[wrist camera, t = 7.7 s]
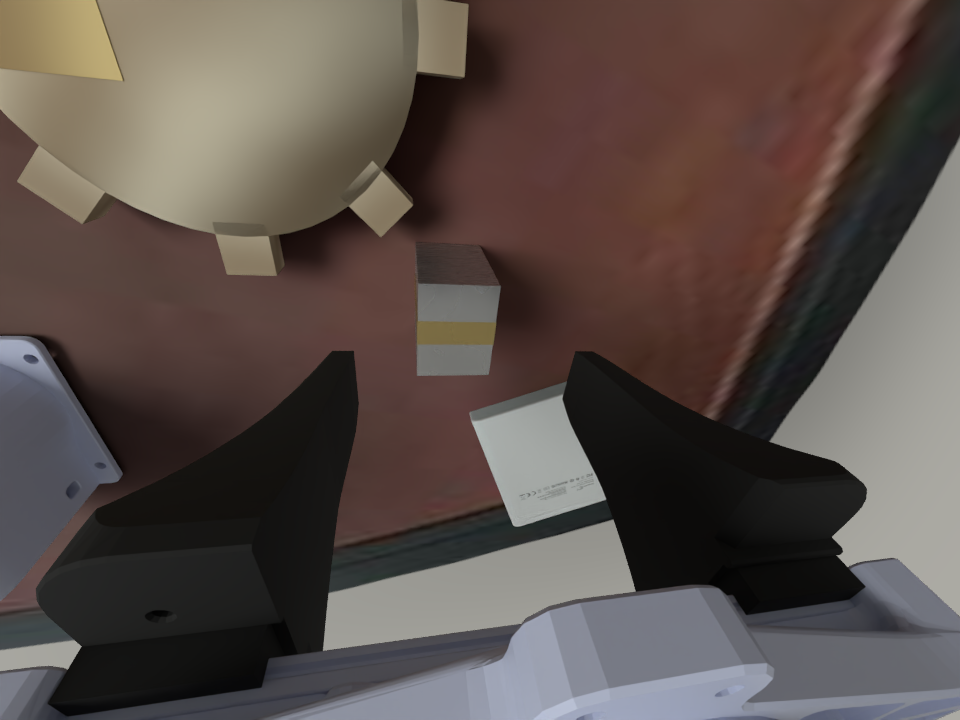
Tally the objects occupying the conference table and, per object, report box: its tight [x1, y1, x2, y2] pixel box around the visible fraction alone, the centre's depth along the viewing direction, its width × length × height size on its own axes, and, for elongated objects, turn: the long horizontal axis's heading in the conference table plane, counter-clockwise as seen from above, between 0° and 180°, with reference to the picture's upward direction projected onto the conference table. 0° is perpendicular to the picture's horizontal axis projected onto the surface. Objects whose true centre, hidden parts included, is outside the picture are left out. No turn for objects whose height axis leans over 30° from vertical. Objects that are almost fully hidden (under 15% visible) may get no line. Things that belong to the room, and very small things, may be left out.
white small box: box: [415, 242, 501, 376], centre depth 17 cm, size 4×3×5 cm
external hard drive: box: [470, 382, 606, 526], centre depth 27 cm, size 2×8×12 cm
